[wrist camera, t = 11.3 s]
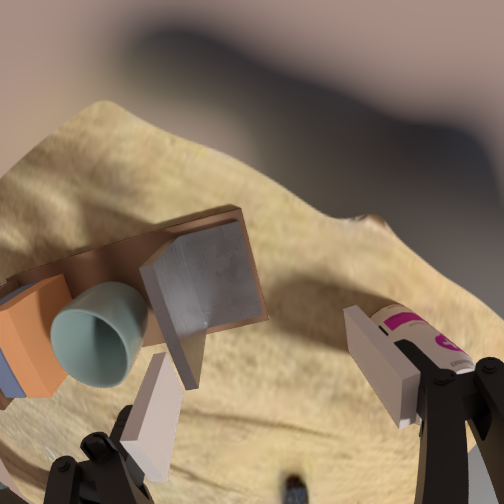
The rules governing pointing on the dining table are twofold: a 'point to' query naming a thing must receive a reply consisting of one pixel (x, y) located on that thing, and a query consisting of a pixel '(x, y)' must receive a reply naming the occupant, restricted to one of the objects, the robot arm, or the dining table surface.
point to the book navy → (3, 374)
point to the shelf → (130, 270)
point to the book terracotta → (34, 336)
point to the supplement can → (422, 339)
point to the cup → (100, 333)
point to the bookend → (199, 291)
